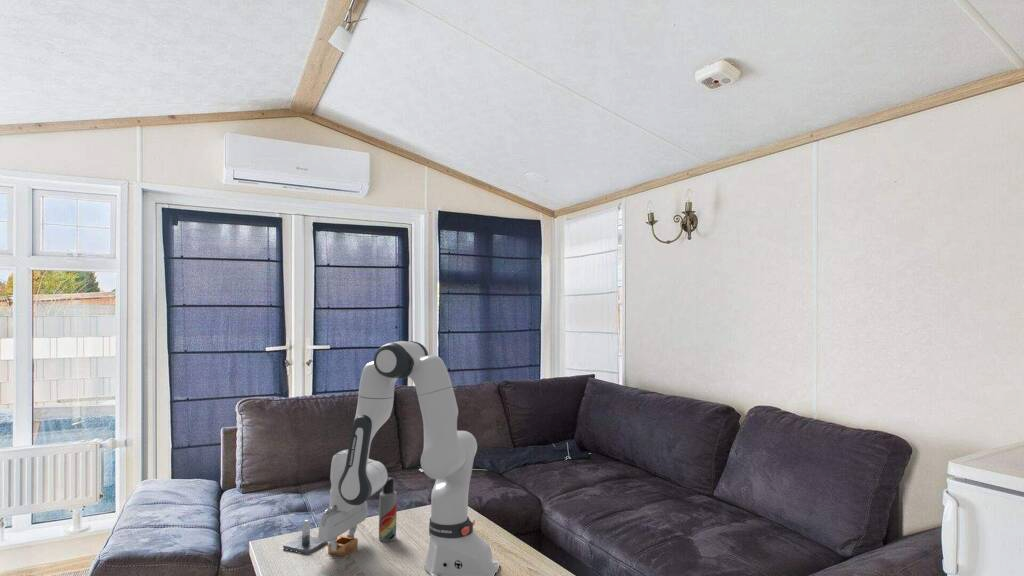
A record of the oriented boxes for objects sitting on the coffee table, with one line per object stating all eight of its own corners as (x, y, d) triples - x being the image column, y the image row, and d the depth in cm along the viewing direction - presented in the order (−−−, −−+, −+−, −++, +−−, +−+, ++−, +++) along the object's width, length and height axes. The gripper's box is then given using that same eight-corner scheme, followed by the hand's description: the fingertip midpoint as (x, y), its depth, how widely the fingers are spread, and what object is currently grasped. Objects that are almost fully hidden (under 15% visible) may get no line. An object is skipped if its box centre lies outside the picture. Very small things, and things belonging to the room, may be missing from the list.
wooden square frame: (357, 547, 175) (357, 538, 176) (344, 556, 169) (345, 546, 170) (341, 544, 178) (341, 535, 178) (328, 552, 172) (328, 543, 172)
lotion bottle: (391, 542, 180) (393, 481, 180) (375, 541, 181) (377, 480, 182) (398, 535, 185) (399, 476, 186) (383, 534, 186) (384, 475, 187)
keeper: (327, 543, 179) (328, 517, 179) (308, 554, 170) (309, 527, 170) (303, 538, 182) (303, 513, 182) (283, 549, 174) (283, 522, 174)
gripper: (330, 513, 163) (329, 560, 163) (370, 492, 183) (369, 534, 182) (313, 510, 165) (312, 556, 165) (355, 490, 185) (354, 531, 184)
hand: (342, 544), depth 174 cm, fingers closed on wooden square frame, 6 cm apart
